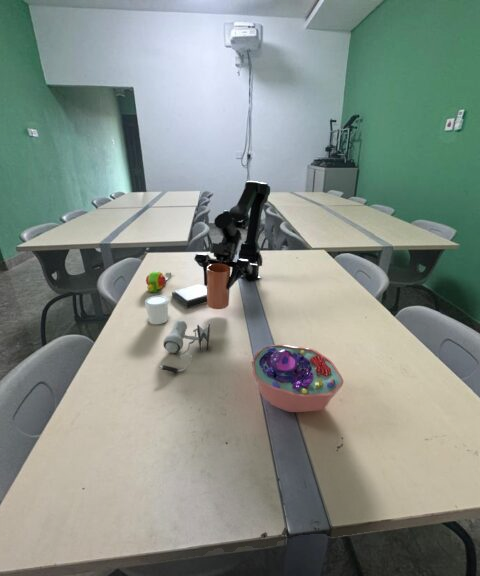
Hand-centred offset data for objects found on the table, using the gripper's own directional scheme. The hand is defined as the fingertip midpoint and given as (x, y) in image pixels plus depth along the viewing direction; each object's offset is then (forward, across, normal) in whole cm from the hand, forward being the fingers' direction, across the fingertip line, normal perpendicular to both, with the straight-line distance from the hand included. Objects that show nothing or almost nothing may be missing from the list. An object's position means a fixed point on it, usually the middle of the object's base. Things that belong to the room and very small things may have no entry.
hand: (216, 287), depth 101 cm
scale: (+2, -12, +12) cm, 18 cm away
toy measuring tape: (-2, -31, +17) cm, 35 cm away
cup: (+4, 0, +6) cm, 7 cm away
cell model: (+27, +32, -13) cm, 44 cm away
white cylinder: (+14, -15, 0) cm, 21 cm away
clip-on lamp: (+23, +2, -9) cm, 25 cm away
